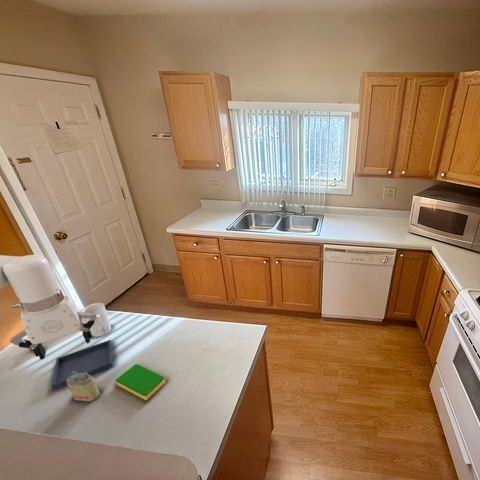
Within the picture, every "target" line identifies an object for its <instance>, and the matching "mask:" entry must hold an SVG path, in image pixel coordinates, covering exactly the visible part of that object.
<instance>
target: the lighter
mask: <svg viewBox="0 0 480 480" xmlns="http://www.w3.org/2000/svg"><path fill="white" fill-rule="evenodd" d="M71 374H72V375H71V376H68V378H67V380H66V381H67V385H66V386H67V387H68V390H69V391H70V392H71V395H72V397H73V399H74V401H77V402H78V401H79V402H80V401H81V402H91V401H95V399H97V398H99V396H100V394H101V393H100V391H99V388H98V386H97V384H96V382H95V379H94V377H93V375H88V373H87V372H85V373H76V372H75V371H73V372H72V373H71Z"/></svg>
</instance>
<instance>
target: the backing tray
mask: <svg viewBox="0 0 480 480" xmlns="http://www.w3.org/2000/svg"><path fill="white" fill-rule="evenodd" d="M55 360H56V361H55V364H54V369H53V370H54V371H53V375H52V380H51V381H52V382H51V387H52V389H53V391H55V390H58V389H60V388H62V387H66V386H68V385H67V381H66V380H67V378H68V376H71V375H72V374H71V373H72V372H73V371H75V372H76V373H85V372H87V373H88V375H91V376H93V375H95V374H99V373H101V372H103V371H106V370H108V369H111V368H113V366H114V362H113V343H112V340H111V339H108V340H105V341H103V342H99V343H97V344H94V345H90V346H88V347H85V348H82V349H78V350H77V351H73V352H71V353H67V354H65V355H62V356H59V357H56V359H55Z"/></svg>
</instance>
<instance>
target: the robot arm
mask: <svg viewBox="0 0 480 480" xmlns="http://www.w3.org/2000/svg"><path fill="white" fill-rule="evenodd" d="M8 285H10V286H11V288H12V290H13V291H14V293H15V295H16V297H17V299H18V301H16V302H13V303H12V308H13V309H17V308H18V309H22V310H21V311H20V318H21V323H22V325H23V328H24V329H22V330H21V331H20V332H17V334H15V335H13V336H12V337H11V338H10V340H9V343H10V344H13V345H15V346H18V347H19V348H23V349H28V350H29V351H32V352H33V353H34V355H35V357H36V358H37V357H38V358H39V359H40V360H44V359H46V354H47V351H46V349H45V348H46V347H45V346H44V347H43V345H44V343H46V342H51V341H53V340H56V339H59V338H62V337H66V336H68V335H71V334H74V333H76V332H79V331H80V332H82V336H83V339H84V341H85V343H86V344H91V339H92V338H93V335H92V333H91V331H90V328H91V327H92V326H93V324H94V322H95V320H96V317H97V313H85V312H82V311H81V312H80V311H79V310H78V309H77V307H76V306H75V304H74V303H73V301H72V300H71V299H70V298H69V297H68V295H64V293H63V292H62V289H61V287H60V285H59V282H58V280H57V278H56V274H55V273H54V271H53V269H52V267H51V264H50V262H49V260H48V259H47V258H46V256H44V255H41V254H26V255H21V256H15V255H3V254H0V290H1V289H3V288H4V287H7V286H8ZM85 318H89V319H90V320H89V321H88V322H86V321H83V320H82V319H85ZM26 336H27V339H28V338H29V340H27V339H24V337H26ZM42 343H43V345H42Z"/></svg>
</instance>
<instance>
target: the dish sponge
mask: <svg viewBox="0 0 480 480" xmlns="http://www.w3.org/2000/svg"><path fill="white" fill-rule="evenodd" d="M115 382H116V385H117V386H118V387H120V388H122V389H124V390H125V391H127V392H129V393H131V394H133V395H135V396H137V397H138V398H141V399H143V400H145V401H147V400H149V399H150V398H151V397H152V396H153V395H154V394H155V393H156V392H157V391H158V390H159V389H161V387H162V386H163V385H165V383H166V379H165V376H163V375H161V374H158V373H157V372H155V371H152V370H150V369H149V368H146V367H144V366H142V365H140V364H138V363H135V364H133V365H132V366H131V367H130V368H128V369H127V370H126V371H125V372H123V373H122V374H121V375H119V376H118V377H117V378H115Z"/></svg>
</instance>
